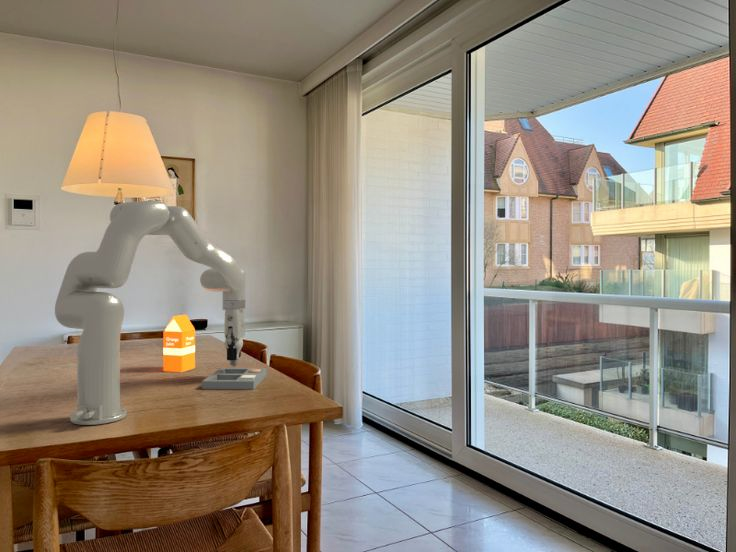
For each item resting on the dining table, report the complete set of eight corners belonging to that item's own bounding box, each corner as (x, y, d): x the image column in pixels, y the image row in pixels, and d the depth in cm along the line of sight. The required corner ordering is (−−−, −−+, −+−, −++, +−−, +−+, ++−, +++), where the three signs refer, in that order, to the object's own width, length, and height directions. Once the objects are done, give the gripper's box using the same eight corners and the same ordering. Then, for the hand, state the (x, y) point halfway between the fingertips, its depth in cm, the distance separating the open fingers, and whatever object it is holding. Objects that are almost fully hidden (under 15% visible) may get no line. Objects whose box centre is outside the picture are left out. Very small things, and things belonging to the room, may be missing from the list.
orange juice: (163, 371, 194) (162, 316, 194) (177, 366, 203) (177, 314, 202) (182, 372, 192) (182, 316, 192) (195, 367, 201) (195, 314, 200)
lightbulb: (238, 368, 178) (238, 336, 178) (221, 367, 179) (221, 335, 179) (246, 365, 184) (246, 333, 184) (229, 364, 185) (229, 332, 185)
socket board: (253, 389, 166) (253, 380, 166) (202, 389, 166) (202, 380, 166) (266, 375, 188) (266, 366, 188) (221, 375, 188) (221, 366, 188)
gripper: (239, 307, 173) (239, 363, 173) (250, 303, 190) (250, 354, 190) (215, 307, 173) (215, 363, 173) (229, 303, 190) (229, 354, 190)
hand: (233, 358), depth 181 cm, fingers closed on lightbulb, 5 cm apart
